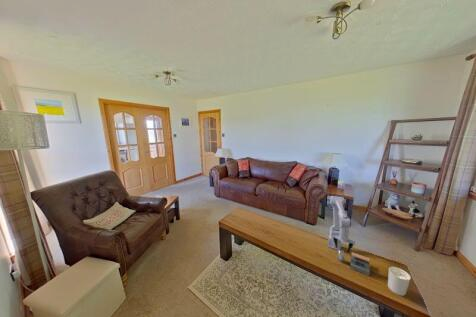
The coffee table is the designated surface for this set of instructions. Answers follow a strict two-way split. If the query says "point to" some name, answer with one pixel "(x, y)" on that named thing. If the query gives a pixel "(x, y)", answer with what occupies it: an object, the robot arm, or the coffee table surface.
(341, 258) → the metal peg
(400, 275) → the candle holder
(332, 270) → the coffee table surface
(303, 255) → the coffee table surface
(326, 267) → the coffee table surface
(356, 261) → the socket block
